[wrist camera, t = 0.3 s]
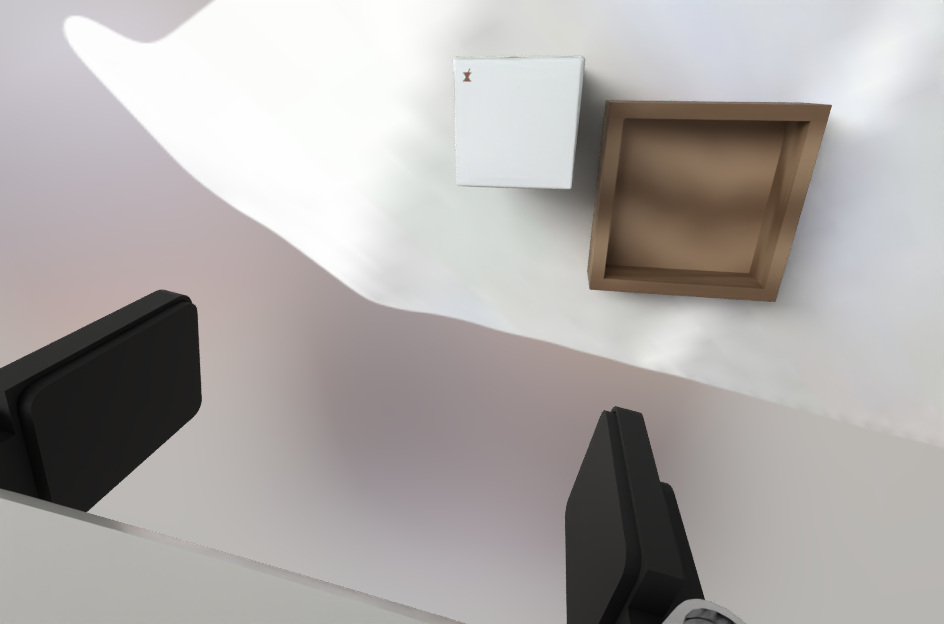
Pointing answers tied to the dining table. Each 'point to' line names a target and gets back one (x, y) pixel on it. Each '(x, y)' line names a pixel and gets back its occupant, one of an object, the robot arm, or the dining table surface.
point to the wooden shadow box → (701, 196)
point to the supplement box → (517, 120)
